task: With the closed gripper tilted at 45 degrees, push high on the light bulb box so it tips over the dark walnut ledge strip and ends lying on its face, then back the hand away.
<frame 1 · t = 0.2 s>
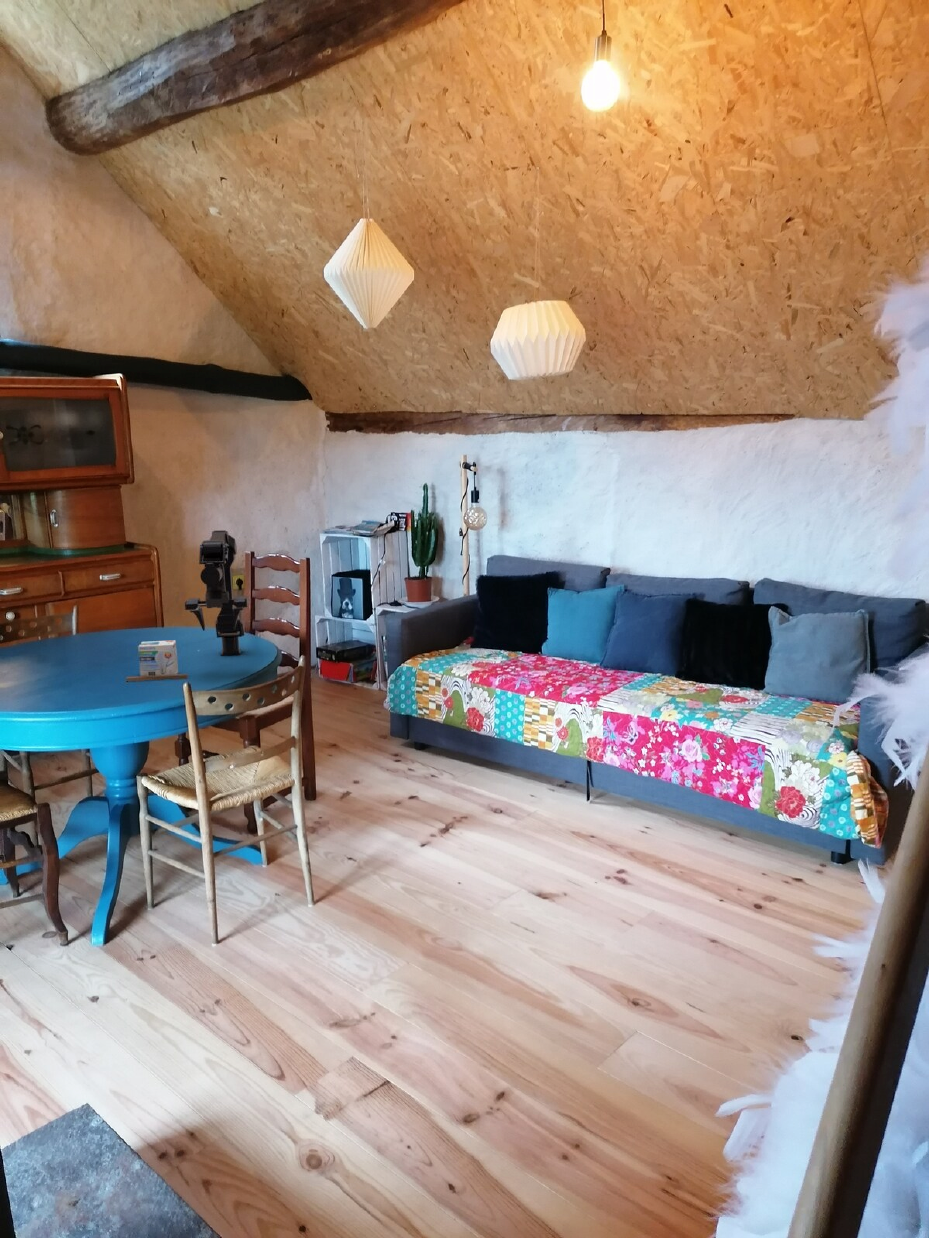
hand: (219, 629, 262), 15 cm above the table, tool pointing down, fingers open, 9 cm apart
ledge strip: (157, 679, 259), on the table
light bulb box: (159, 676, 264), on the table
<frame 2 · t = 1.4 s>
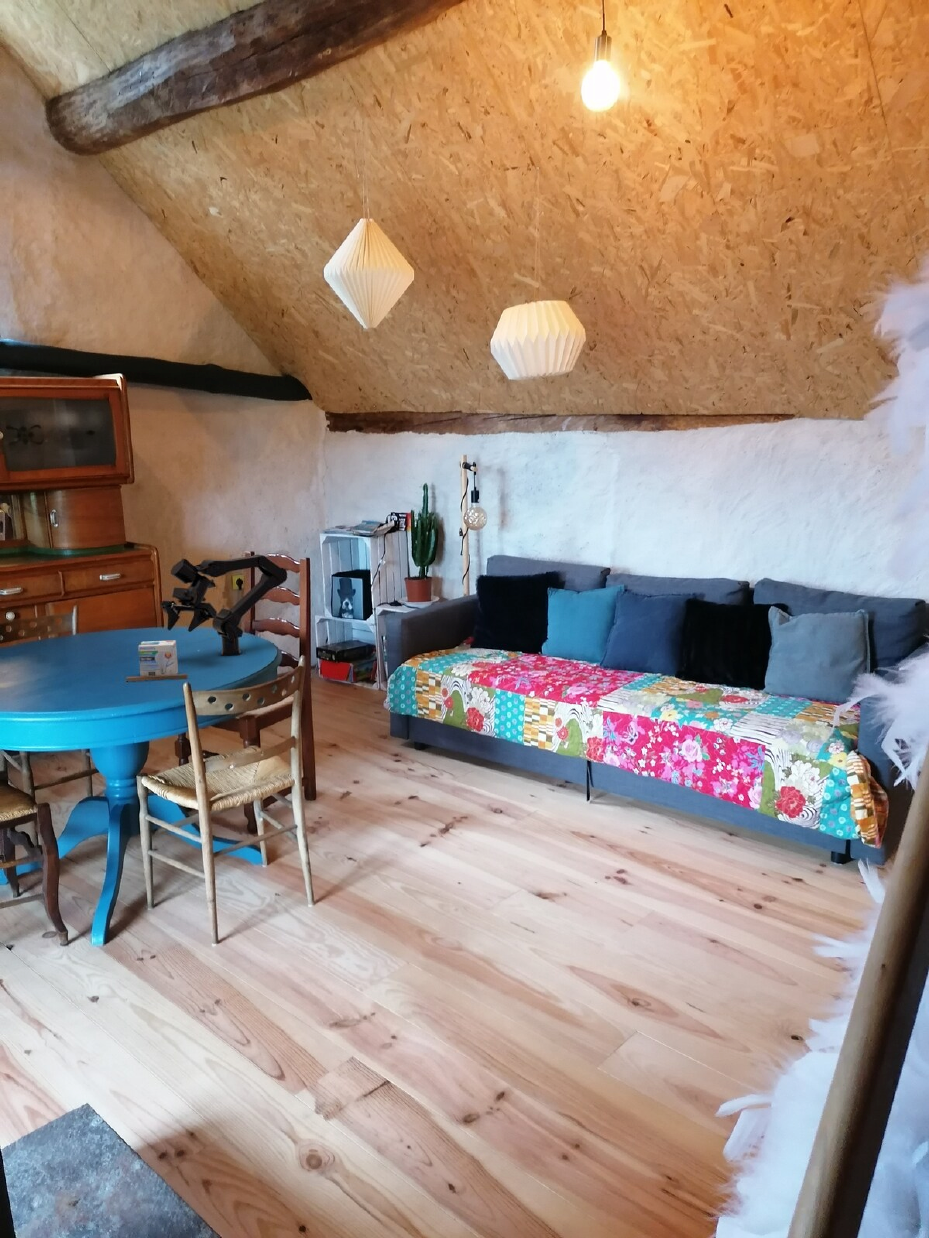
hand: (178, 630, 271), 12 cm above the table, tool tilted 45°, fingers open, 8 cm apart
nothing on the table moved.
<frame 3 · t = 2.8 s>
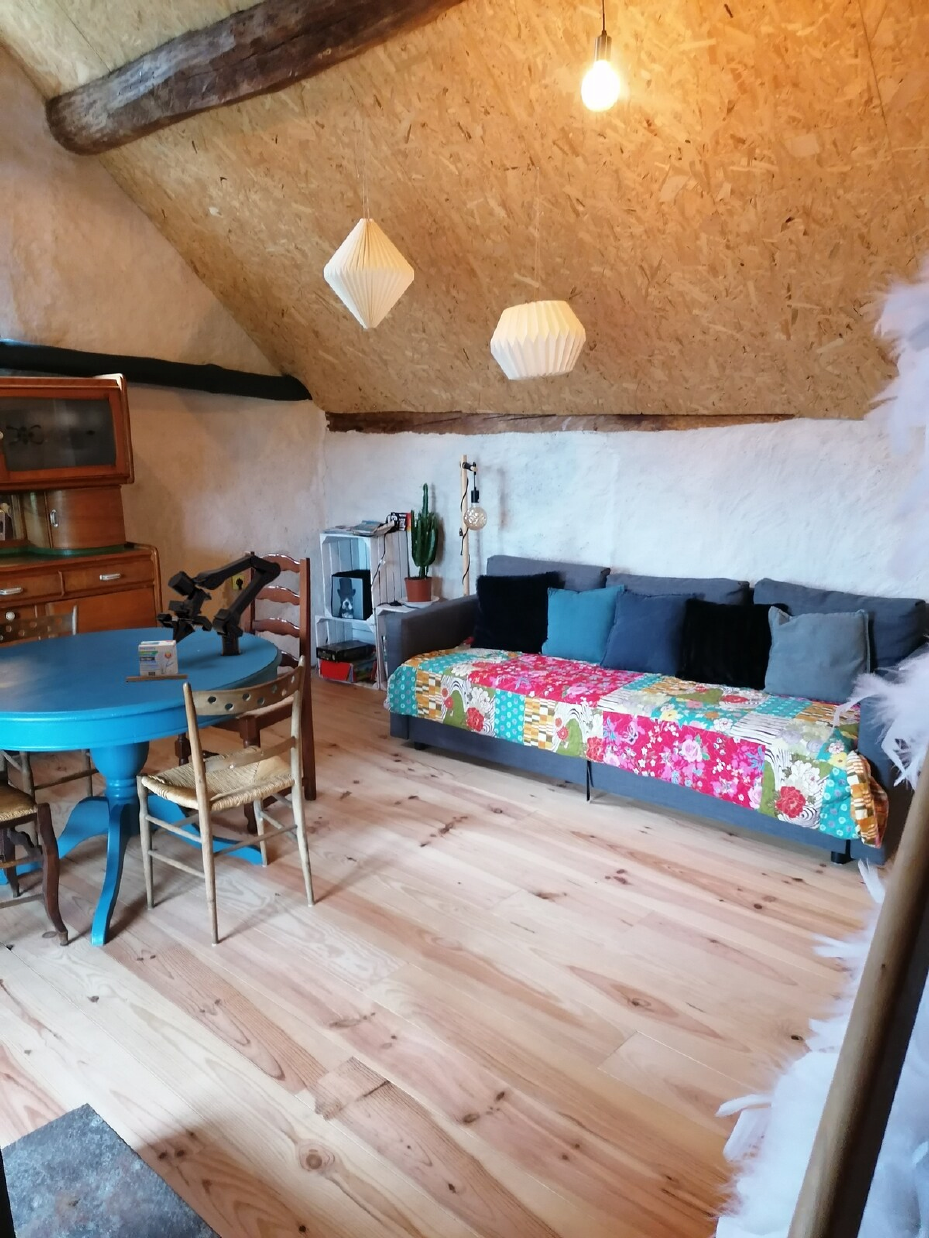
hand: (174, 643, 269), 9 cm above the table, tool tilted 45°, fingers closed
nothing on the table moved.
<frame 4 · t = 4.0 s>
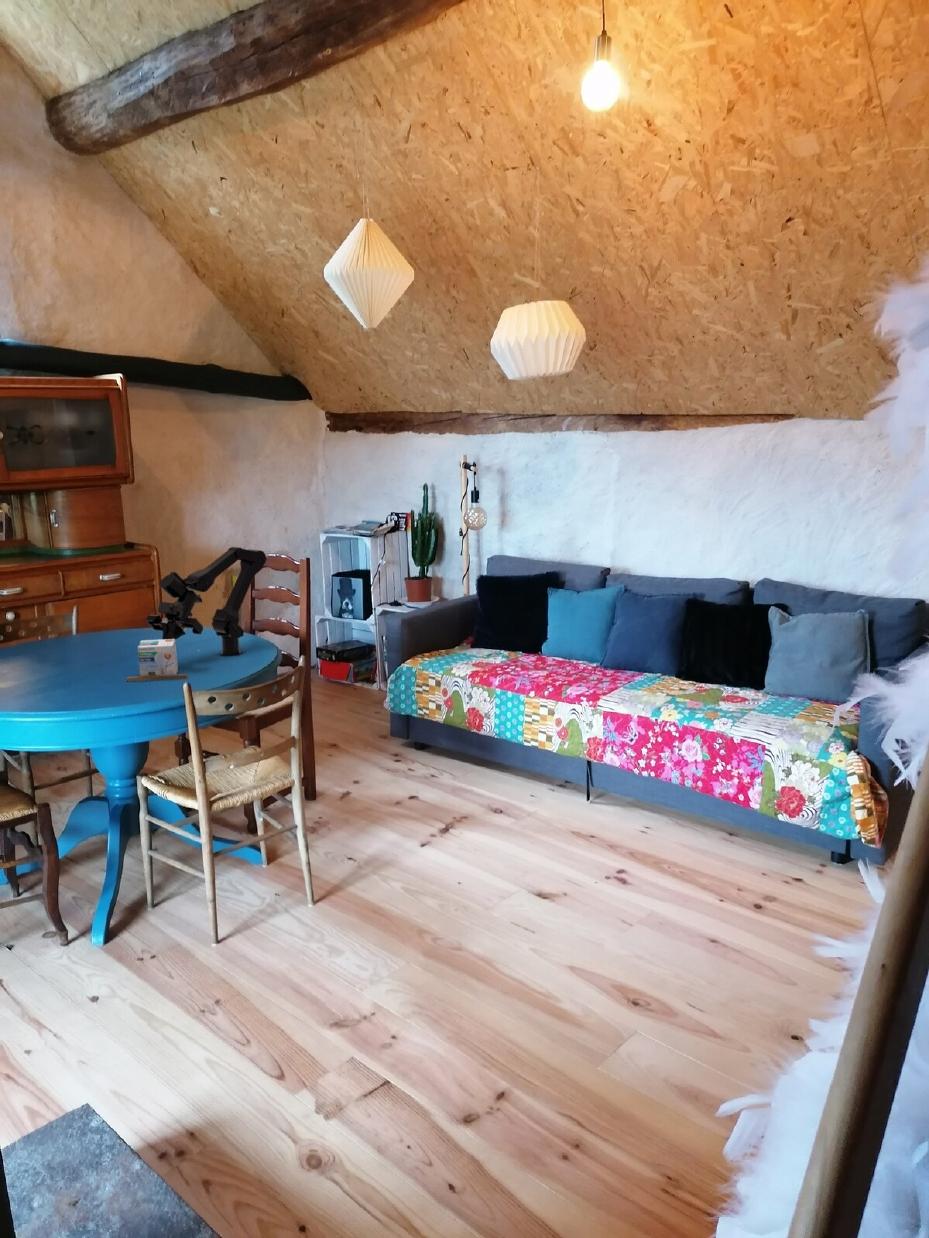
hand: (163, 646, 265), 9 cm above the table, tool tilted 45°, fingers closed
light bulb box: (159, 675, 264), on the table, touching gripper
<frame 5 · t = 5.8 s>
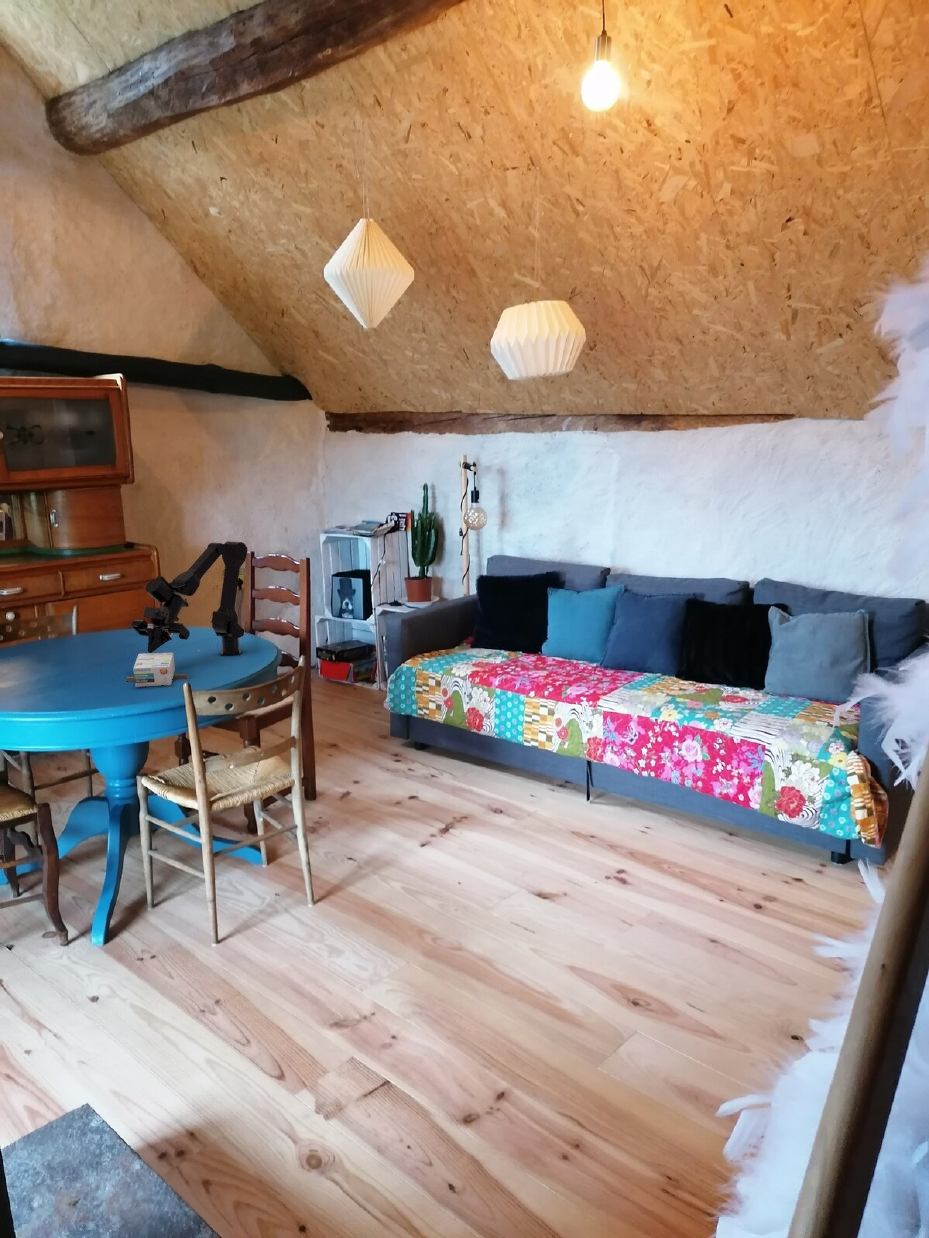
hand: (149, 652, 258), 9 cm above the table, tool tilted 45°, fingers closed
light bulb box: (157, 661, 260), point 5 cm above the table, touching gripper, ledge strip
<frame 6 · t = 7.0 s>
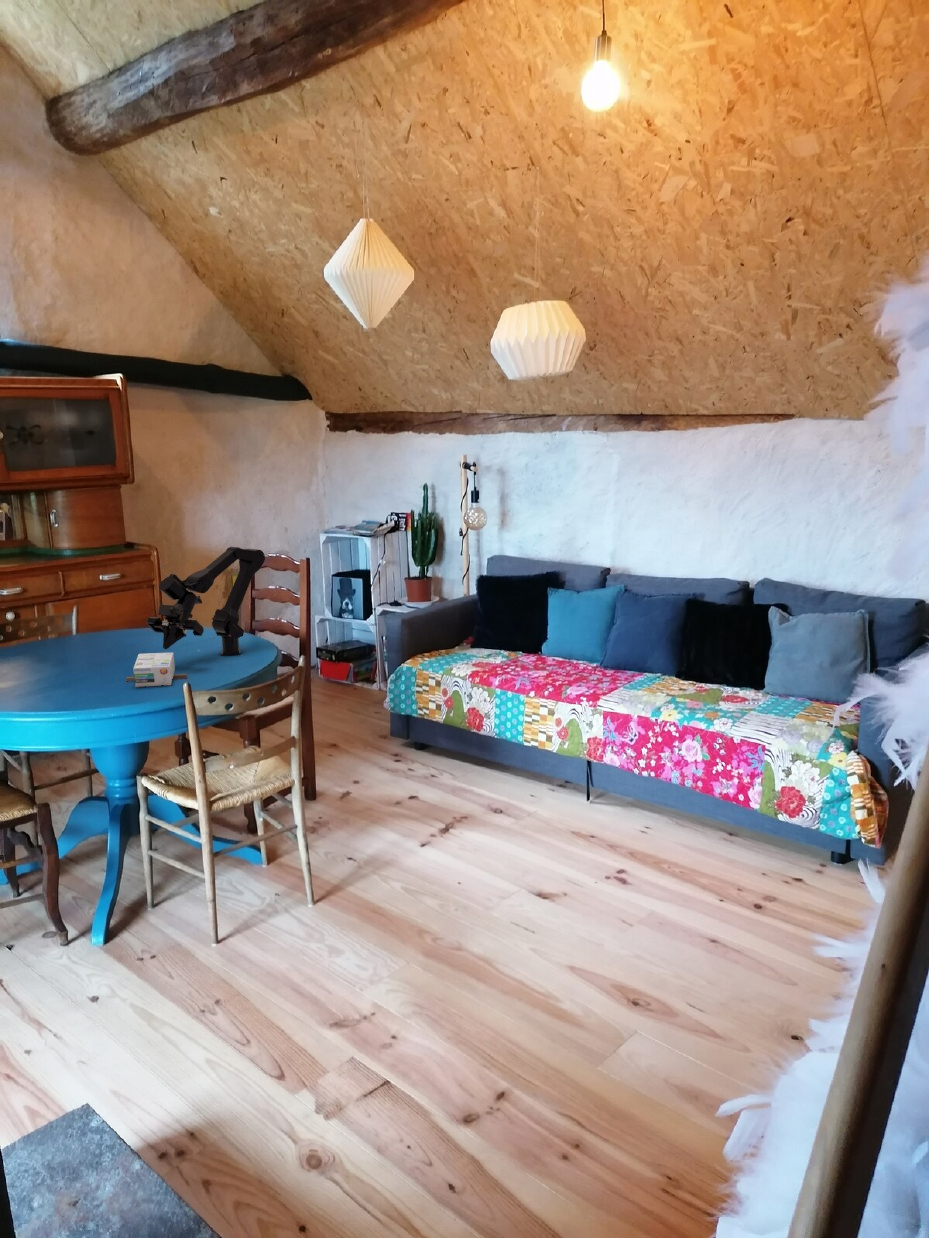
hand: (164, 648, 265), 8 cm above the table, tool tilted 45°, fingers closed
light bulb box: (157, 661, 260), point 5 cm above the table, touching ledge strip
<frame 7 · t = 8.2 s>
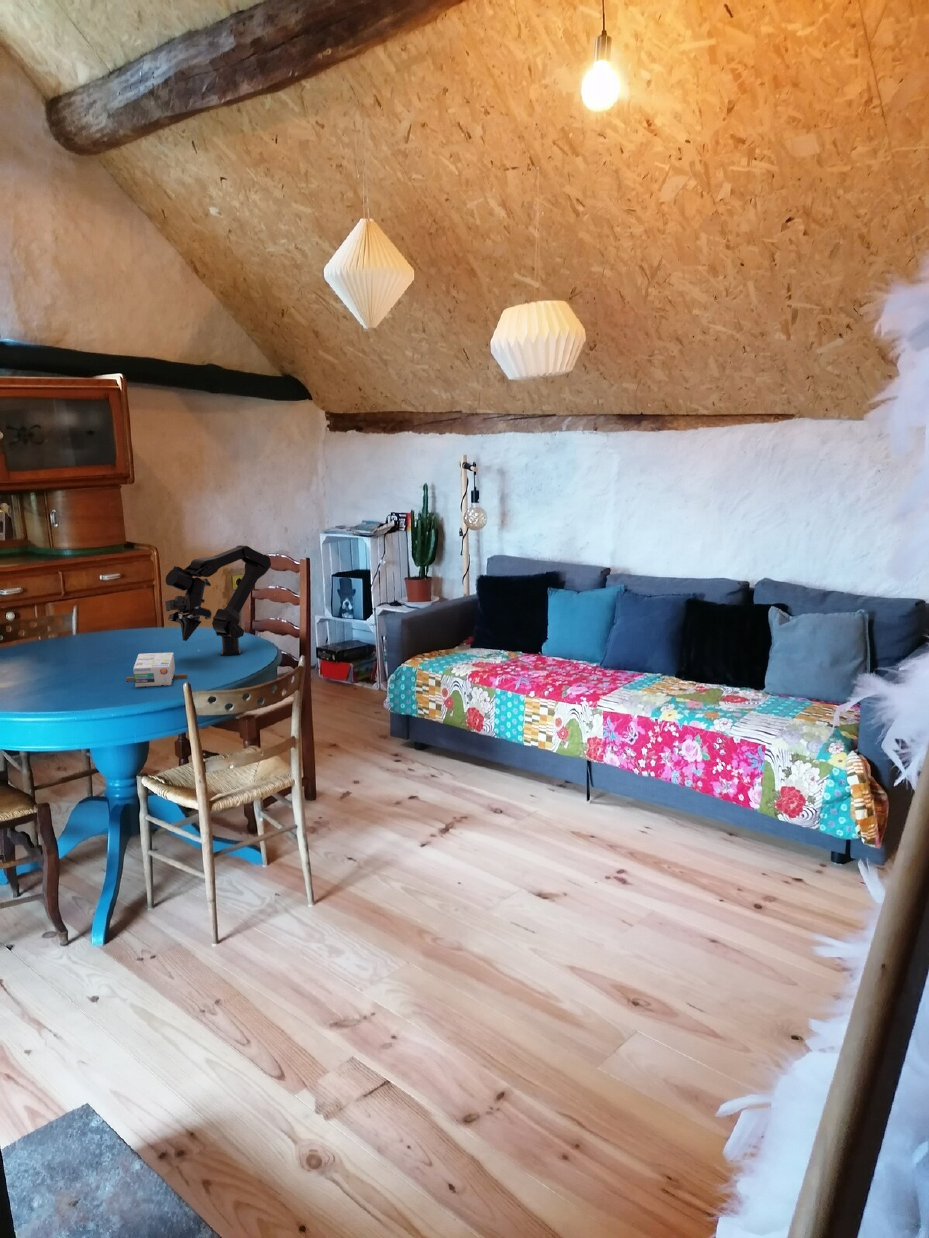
hand: (184, 640, 271), 9 cm above the table, tool tilted 30°, fingers closed
nothing on the table moved.
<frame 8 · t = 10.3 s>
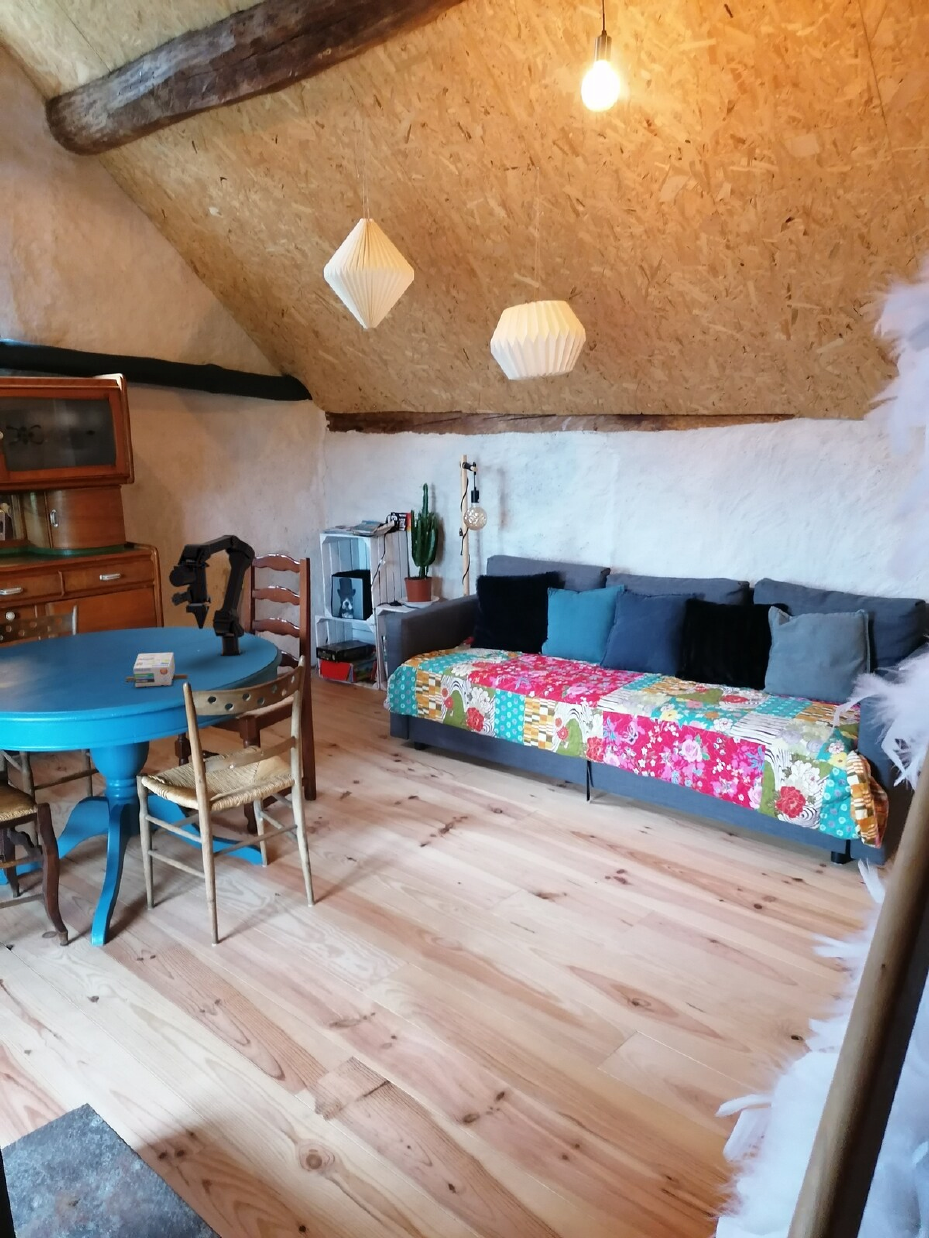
hand: (200, 628, 275), 12 cm above the table, tool pointing down, fingers closed
nothing on the table moved.
at the end: light bulb box tilted 101°; light bulb box moved 5.8 cm from its start; the gripper is holding nothing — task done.
